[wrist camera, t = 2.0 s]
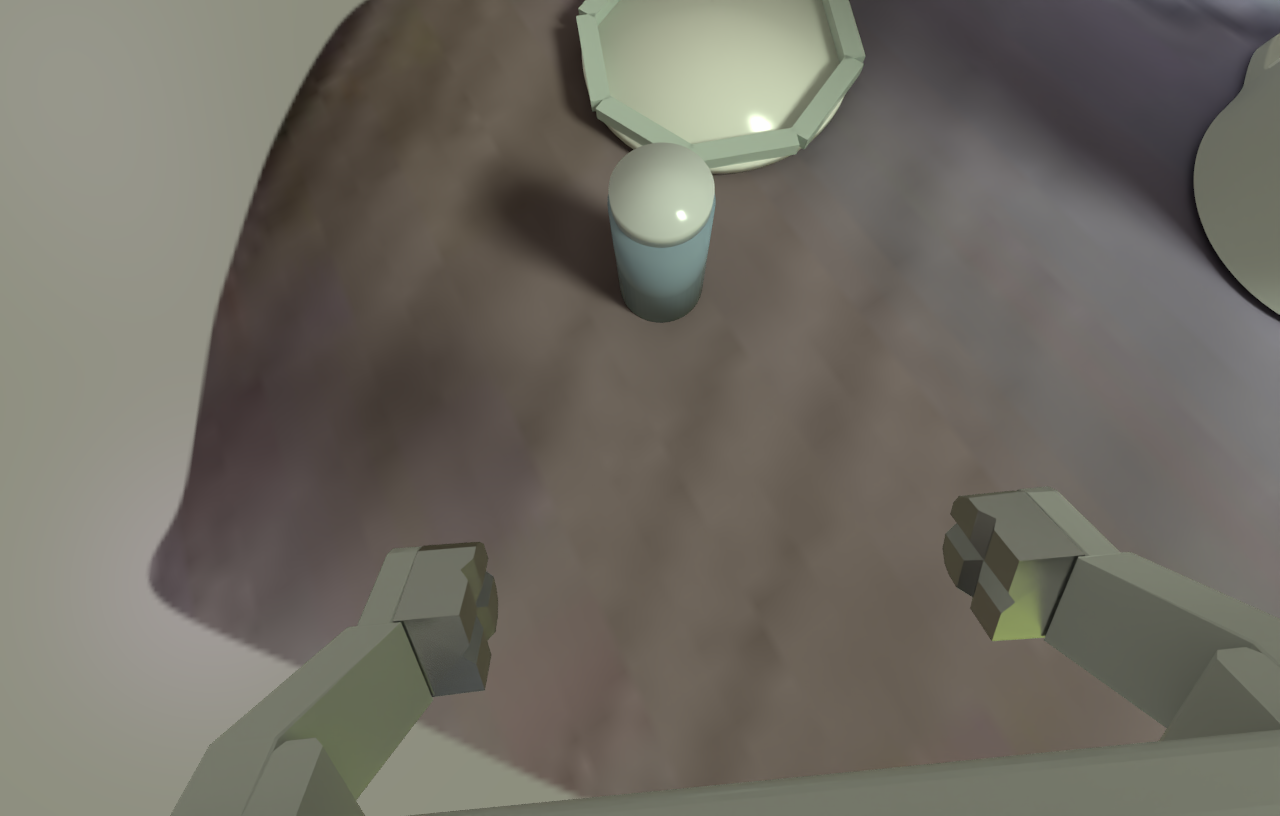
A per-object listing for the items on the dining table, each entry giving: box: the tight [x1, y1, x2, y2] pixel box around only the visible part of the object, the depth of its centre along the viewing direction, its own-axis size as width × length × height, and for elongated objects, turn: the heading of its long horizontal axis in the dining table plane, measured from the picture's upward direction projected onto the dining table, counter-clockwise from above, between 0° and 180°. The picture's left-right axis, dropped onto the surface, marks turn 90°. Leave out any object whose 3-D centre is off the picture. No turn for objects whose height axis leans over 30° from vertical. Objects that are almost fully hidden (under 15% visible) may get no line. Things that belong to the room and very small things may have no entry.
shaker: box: [608, 142, 715, 323], centre depth 26 cm, size 4×4×8 cm
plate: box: [576, 0, 865, 174], centre depth 32 cm, size 14×14×2 cm
